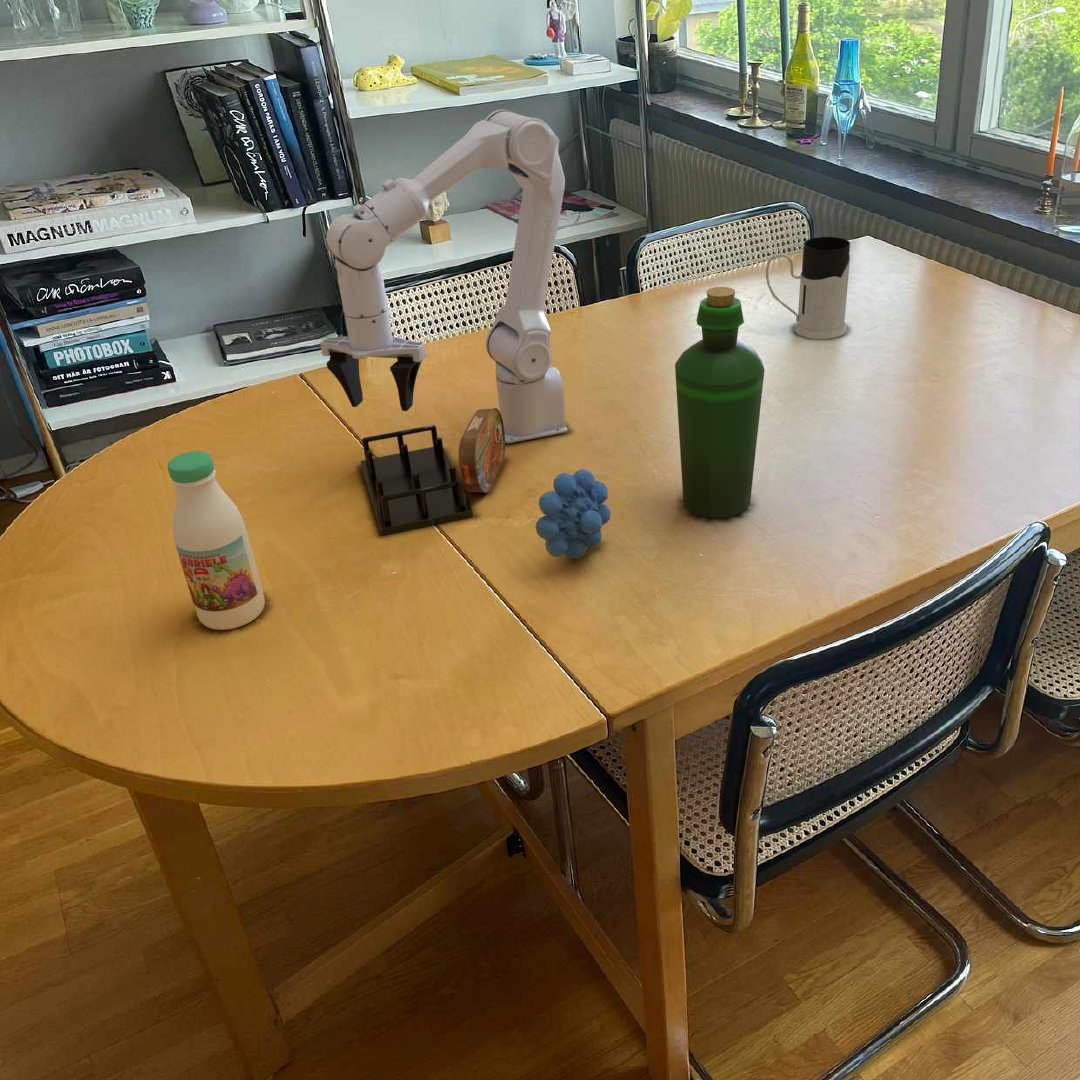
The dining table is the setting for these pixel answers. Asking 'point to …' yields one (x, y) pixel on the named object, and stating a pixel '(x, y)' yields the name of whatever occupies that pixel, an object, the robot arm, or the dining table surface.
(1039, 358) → the dining table surface
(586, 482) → the grapes
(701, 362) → the bottle
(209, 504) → the milk bottle
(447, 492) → the rack
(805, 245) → the glass holder
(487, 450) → the tin
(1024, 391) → the dining table surface
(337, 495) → the dining table surface
